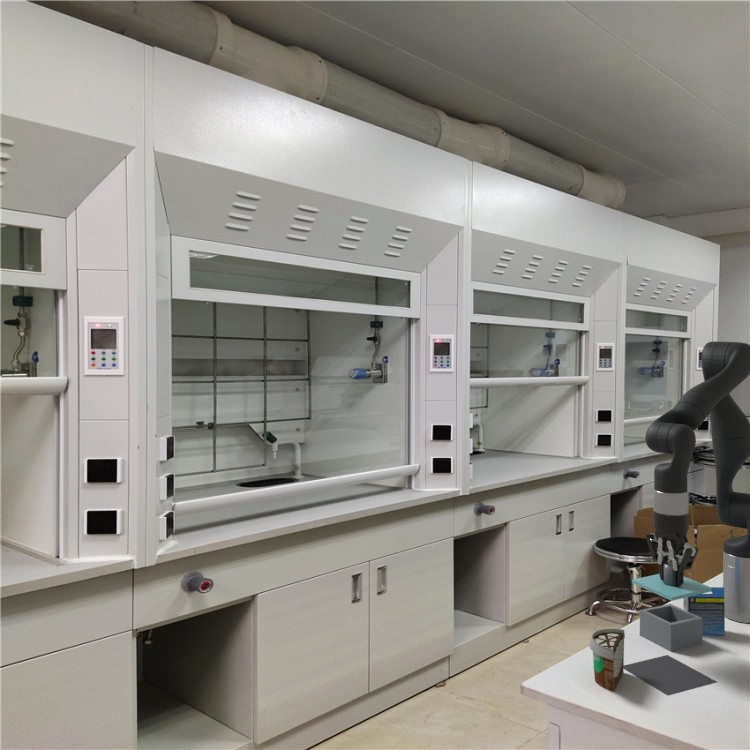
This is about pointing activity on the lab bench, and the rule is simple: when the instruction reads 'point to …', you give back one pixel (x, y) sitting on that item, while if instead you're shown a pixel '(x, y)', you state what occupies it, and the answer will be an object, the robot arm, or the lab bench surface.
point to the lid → (671, 585)
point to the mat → (668, 675)
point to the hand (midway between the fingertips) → (671, 582)
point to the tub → (671, 627)
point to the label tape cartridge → (708, 610)
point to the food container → (608, 656)
